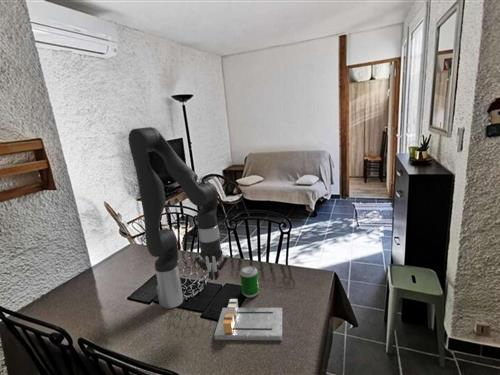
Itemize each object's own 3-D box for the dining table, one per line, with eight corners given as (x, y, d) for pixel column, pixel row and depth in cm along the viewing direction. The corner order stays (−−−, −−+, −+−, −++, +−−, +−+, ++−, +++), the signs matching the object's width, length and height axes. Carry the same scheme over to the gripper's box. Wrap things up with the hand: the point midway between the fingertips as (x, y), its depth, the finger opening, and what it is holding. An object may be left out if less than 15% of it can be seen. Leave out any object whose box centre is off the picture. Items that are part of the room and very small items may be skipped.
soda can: (257, 299, 126) (255, 274, 123) (240, 298, 128) (238, 273, 125) (260, 288, 133) (258, 265, 130) (244, 288, 135) (242, 264, 132)
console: (214, 341, 105) (213, 336, 104) (223, 311, 120) (222, 307, 119) (282, 342, 102) (281, 337, 101) (282, 312, 117) (282, 307, 116)
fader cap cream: (228, 316, 114) (227, 306, 112) (230, 307, 118) (229, 298, 117) (236, 316, 113) (235, 306, 112) (238, 307, 118) (237, 298, 117)
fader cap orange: (223, 332, 105) (222, 322, 104) (226, 323, 110) (225, 313, 109) (232, 333, 104) (231, 322, 103) (234, 323, 109) (233, 313, 108)
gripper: (188, 242, 106) (194, 284, 110) (225, 241, 104) (230, 284, 108) (194, 233, 113) (200, 274, 117) (228, 232, 111) (233, 273, 116)
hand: (214, 278), depth 113 cm, fingers closed
